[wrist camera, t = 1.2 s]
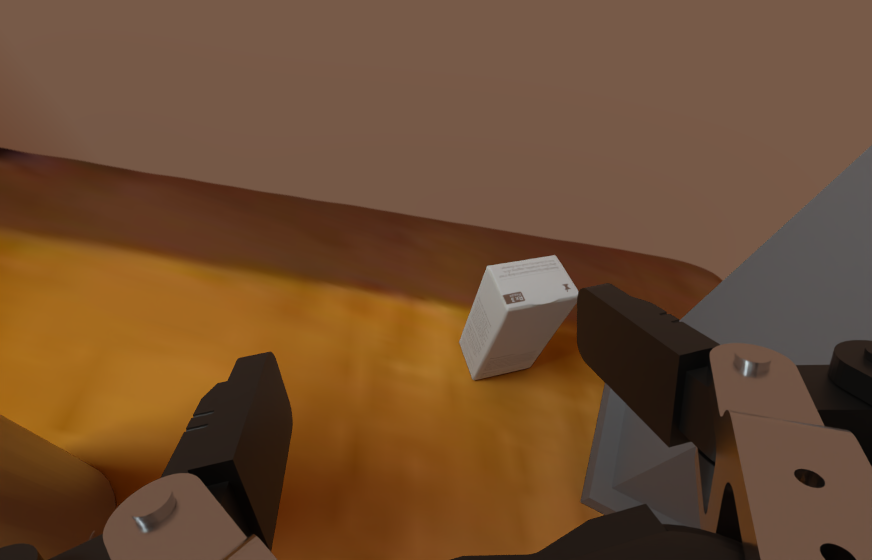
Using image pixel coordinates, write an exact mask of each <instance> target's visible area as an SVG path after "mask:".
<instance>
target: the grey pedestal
mask: <svg viewBox="0 0 872 560" xmlns="http://www.w3.org/2000/svg"><path fill="white" fill-rule="evenodd" d="M679 322H684V323H686V324H687V325H689V326H691V327H692V328H694V329H695V330H697V331H699V332H700V333H702V334H704V335H705V336H707V337H709V338H710V339H712V340H714V341H715V342H717V343H719V344H720V345H722V344H728V343H745V344H752V345H757V346H762V347H765V348H768V349H771V350H774V351H776V352H778V353H781V354H782V355H784V356H786V357H787V358H789V359H790V360H791V361H792V362H793V363H794V364H795V365H830V362H831V358H832V355H833V351H834V348H835V346H836V345H837V344H839V343H841V342H844V341H850V340H869V341H872V146H870V147H869V148H868V149H867V150H866V151H865V152H864V153H863V154H862V155H861V156H859V157H858V158H857V159H856V160H855V161H854V162H853V163H852V164H851V165H850V166H849V167H847V168H846V169H845V170H844V171H843V172H842V173H841V174H840V175H839V176H838V177H837V178H835V179H834V180H833V181H832V182H831V183H830V184H829V185H828V186H827V187H825V188H824V189H823V190H822V191H821V192H820V193H819V194H818V195H817V196H816V197H815V198H814V199H812V200H811V201H810V202H809V203H808V204H807V205H806V206H805V207H804V208H802V209H801V210H800V211H799V212H798V213H797V214H796V215H795V216H794V217H793V218H792V219H790V220H789V221H788V222H787V223H786V224H785V225H784V226H783V227H782V228H781V229H779V230H778V231H777V232H776V233H775V234H774V235H773V236H772V237H771V238H770V239H769V240H767V241H766V242H765V243H764V244H763V245H762V246H761V247H760V248H759V249H757V251H755V252H754V253H753V254H752V255H751V256H750V257H749V258H748V259H747V260H745V261H744V262H743V263H742V264H741V265H740V266H739V267H738V268H737V269H736V270H735V271H733V272H732V273H731V274H730V275H729V276H728V277H727V278H726V279H725V280H723V281H722V282H721V283H720V284H719V285H718V286H717V287H716V288H715V289H714V290H713V291H711V292H710V293H709V294H708V295H707V296H706V297H705V298H704V299H703V300H702V301H700V302H699V303H698V304H697V305H696V306H695V307H694V308H693V309H692V310H691V311H690V312H688V313H687V314H686V315H685V316H684V317H683V318H682V319H681V320H680V321H679ZM695 450H696V446H695V445H694V444H693V443H692V442H688V443H685V444H681V445H677V446H673V447H670V448H669V447H668V446H667V445H666V444H665V443H664V442H663V441H662V440H661V439H660V438H659V437H658V436H657V435H656V434H655V433H654V432H653V431H652V430H651V429H650V428H649V427H648V426H647V425H646V424H645V423H644V422H643V421H642V420H641V419H640V418H639V417H638V416H637V415H636V413H635V412H634V411H633V410H632V409H631V408H630V407H629V406H628V405H627V404H626V403H625V402H624V401H623V400H622V399H621V398H620V397H619V396H618V395H617V394H616V393H615V392H614V391H613V390H612V389H611V388H610V387H609V386H608V385H607V384H606V383H605V386H604V391H603V396H602V400H601V405H600V410H599V415H598V420H597V425H596V429H595V434H594V439H593V444H592V449H591V454H590V458H589V463H588V468H587V473H586V478H585V482H584V487H583V492H582V497H581V503H583V504H585V505H587V506H589V507H591V508H593V509H595V510H597V511H598V512H600V513H602V514H604V515H608V514H611V513H615V512H618V511H622V510H625V509H629V508H632V507H636V506H639V505H643V504H647V505H648V507H649V508H650V509H651V511H652V512H653V513H654V514H655V516H656V517H657V518H658V520H659V521H660V522H661V523H662V524H673V525H683V526H688V527H693V528H698V529H701V528H700V517H699V506H698V494H697V483H696V472H695V461H694V459H695Z"/></svg>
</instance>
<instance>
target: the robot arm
mask: <svg viewBox="0 0 872 560" xmlns="http://www.w3.org/2000/svg"><path fill="white" fill-rule="evenodd" d="M577 344H578V349H579V352H580V354H581V356H582V358H583V360H584V361H585V362H586V364H587V365H588V366H589V367H590V368H591V369H592V370H593V371H594V372H595V373H596V374H597V375H598V376H599V377H600V378H601V379H602V380H603V381H604V382H605V383H606V384H607V385H608V386H609V387H610V388H611V389H612V390H613V391H614V392H615V393H616V394H617V395H618V396H619V397H620V398H621V399H622V400H623V401H624V402H625V403H626V404H627V405H628V406H629V407H630V408H631V409H632V410H633V411H634V412H635V413H636V415H637V416H638V417H639V418H640V419H641V420H642V421H643V422H644V423H645V424H646V425H647V426H648V427H649V428H650V429H651V430H652V431H653V432H654V433H655V434H656V435H657V436H658V437H659V438H660V439H661V440H662V441H663V442H664V443H665V444H666V445H667V446H668V447H669V448H670V447H673V446H677V445H681V444H685V443H688V442H692V443H693V444H694V445H695V446H696V450H695V459H694V461H695V472H696V483H697V494H698V506H699V517H700V528H701V529H698V528H693V527H688V526H683V525H673V524H662V523H661V522H660V521H659V520H658V518H657V517H656V516H655V514H654V513H653V512H652V511H651V509H650V508H649V507H648V505H647V504H643V505H639V506H636V507H632V508H629V509H625V510H622V511H618V512H615V513H611V514H608V515H604V516H601V517H597V518H594V519H590V520H588V521H586V522H585V523H583V524H582V525H580V526H579V527H577V528H575V529H574V530H572V531H571V532H569V533H568V534H566V535H565V536H563V537H561V538H560V539H558V540H557V541H555V542H554V543H552V544H550V545H549V546H547V547H546V548H544V549H543V550H541V551H539V552H537V553H534V554H529V555H488V556H461V557H458V558H454V559H451V560H872V341H869V340H850V341H844V342H841V343H839V344H837V345H836V346H835V348H834V351H833V355H832V358H831V362H830V365H795V364H794V363H793V362H792V361H791V360H790V359H789V358H787V357H786V356H784V355H782V354H781V353H778V352H776V351H774V350H771V349H768V348H765V347H762V346H757V345H752V344H745V343H728V344H722V345H720V344H719V343H717V342H715V341H714V340H712V339H710V338H709V337H707V336H705V335H704V334H702V333H700V332H699V331H697V330H695V329H694V328H692V327H691V326H689V325H687V324H686V323H684V322H679V319H677V318H676V317H674V316H672V315H671V314H667V313H666V311H664V310H662V309H661V308H659V307H657V306H656V305H654V304H652V303H650V302H647V301H644V300H641V299H638V298H634V297H631V296H629V295H628V294H626V293H625V292H623V291H621V290H620V289H618V288H617V287H615V286H613V285H612V284H609V283H606V284H601V285H597V286H592V287H587V288H582V289H580V290H579V292H578V296H577ZM292 425H293V421H292V411H291V406H290V402H289V399H288V396H287V393H286V389H285V386H284V383H283V380H282V377H281V374H280V370H279V367H278V364H277V361H276V358H275V356H274V354H273V353H272V352H266V353H261V354H257V355H252V356H247V357H242V358H238V359H237V361H236V363H235V366H234V368H233V370H232V372H231V374H230V377H229V379H228V381H226V382H221V383H218V384H216V385H215V386H214V387H213V388H212V389H211V390H210V391H209V392H208V393H207V394H206V395H205V396H204V397H203V398H202V399H201V401H200V403H199V405H198V406H197V408H196V410H195V412H194V414H193V418H191V420H190V422H189V424H188V426H187V428H186V432H184V434H183V436H182V437H181V439H180V441H179V443H178V445H177V447H176V449H175V451H174V453H173V455H172V457H171V459H170V461H169V463H168V465H167V467H166V469H165V470H164V472H163V474H162V476H161V478H160V479H157V480H155V481H153V482H151V483H149V484H147V485H145V486H144V487H142V488H140V489H139V490H137V491H136V492H134V493H133V494H132V495H131V496H129V497H128V498H127V499H126V500H125V501H124V502H122V503H121V504H120V505H119V506H118V508H117V509H116V505H115V497H114V492H113V489H112V487H111V485H110V482H109V481H108V480H107V478H106V477H105V476H104V475H103V474H102V473H101V472H100V471H98V470H97V469H95V468H94V467H92V466H90V465H88V464H87V463H85V462H83V461H81V460H80V459H78V458H76V457H74V456H73V455H71V454H69V453H68V452H66V451H64V450H63V449H61V448H59V447H57V446H56V445H54V444H52V443H50V442H48V441H47V440H45V439H43V438H41V437H39V436H38V435H36V434H34V433H32V432H31V431H29V430H27V429H25V428H23V427H22V426H20V425H18V424H16V423H14V422H13V421H11V420H9V419H7V418H6V417H4V416H2V415H0V560H277V559H276V558H275V556H274V555H273V554H272V553H271V549H272V543H273V537H274V532H275V526H276V520H277V514H278V509H279V503H280V497H281V491H282V485H283V480H284V474H285V468H286V462H287V457H288V451H289V445H290V439H291V433H292ZM115 509H116V510H115Z"/></svg>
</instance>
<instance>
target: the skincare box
mask: <svg viewBox="0 0 872 560" xmlns="http://www.w3.org/2000/svg"><path fill="white" fill-rule="evenodd" d="M577 296H578V290H577V288H576V287H575V285H574V283H573V282H572V280H571V279H570V277H569V275H568V274H567V272H566V271H565V269H564V268H563V266H562V264H561V263H560V261H559V260H558V259H557V257H556V256H555V255H553V256H547V257H541V258H535V259H529V260H522V261H516V262H510V263H504V264H497V265H490V266H487V268H486V271H485V274H484V276H483V279H482V282H481V284H480V287H479V290H478V292H477V295H476V298H475V301H474V303H473V306H472V309H471V311H470V314H469V317H468V319H467V322H466V325H465V328H464V330H463V333H462V336H461V338H460V341H459V343H460V346H461V348H462V352H463V354H464V357H465V360H466V363H467V365H468V368H469V371H470V374H471V376H472V379H473V380H478V379H482V378H486V377H491V376H495V375H500V374H504V373H508V372H513V371H517V370H522V369H526V368H530V367H531V366H532V364H533V363H534V361H535V360H536V359H537V357H538V356H539V354H540V353H541V352H542V350H543V349H544V347H545V346H546V345H547V343H548V342H549V340H550V339H551V337H552V336H553V335H554V333H555V332H556V331H557V329H558V328H559V326H560V325H561V324H562V322H563V321H564V319H565V318H566V317H567V315H568V314H569V312H570V311H571V310H572V308H573V307H574V305H575V304H576V303H577Z"/></svg>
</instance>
